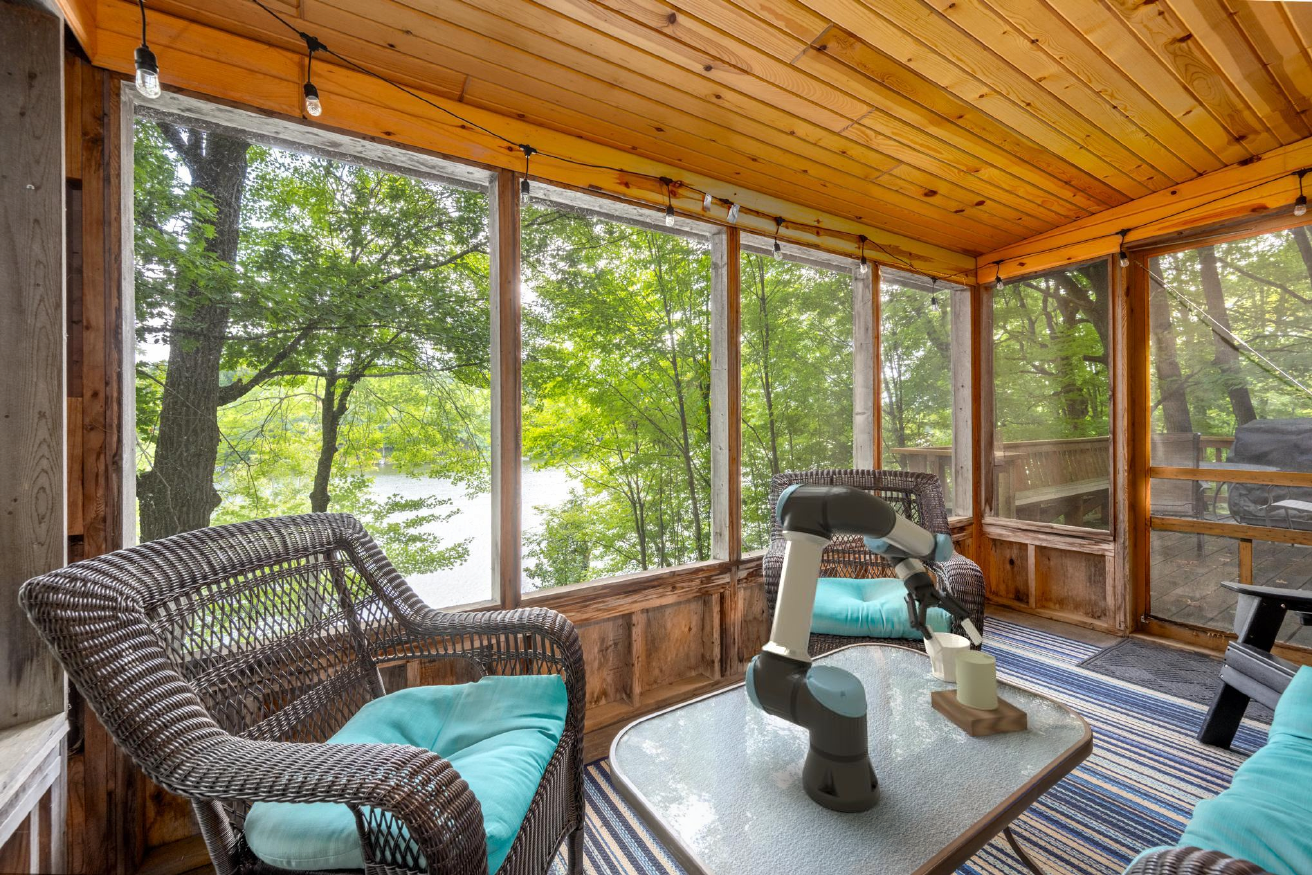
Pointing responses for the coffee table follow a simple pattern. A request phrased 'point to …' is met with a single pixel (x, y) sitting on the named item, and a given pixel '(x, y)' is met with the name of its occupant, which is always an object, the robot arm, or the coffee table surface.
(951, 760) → the coffee table surface
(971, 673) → the can
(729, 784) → the coffee table surface
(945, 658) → the cup
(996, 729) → the plinth
